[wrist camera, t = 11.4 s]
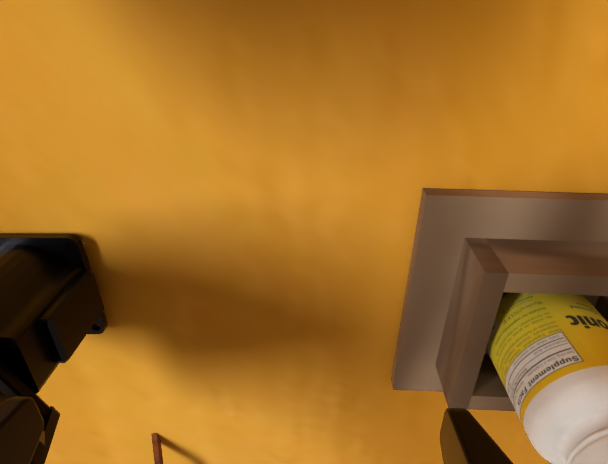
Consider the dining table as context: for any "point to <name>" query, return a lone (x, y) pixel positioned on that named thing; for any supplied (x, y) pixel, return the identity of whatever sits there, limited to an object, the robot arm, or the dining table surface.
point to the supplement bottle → (555, 373)
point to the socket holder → (490, 280)
